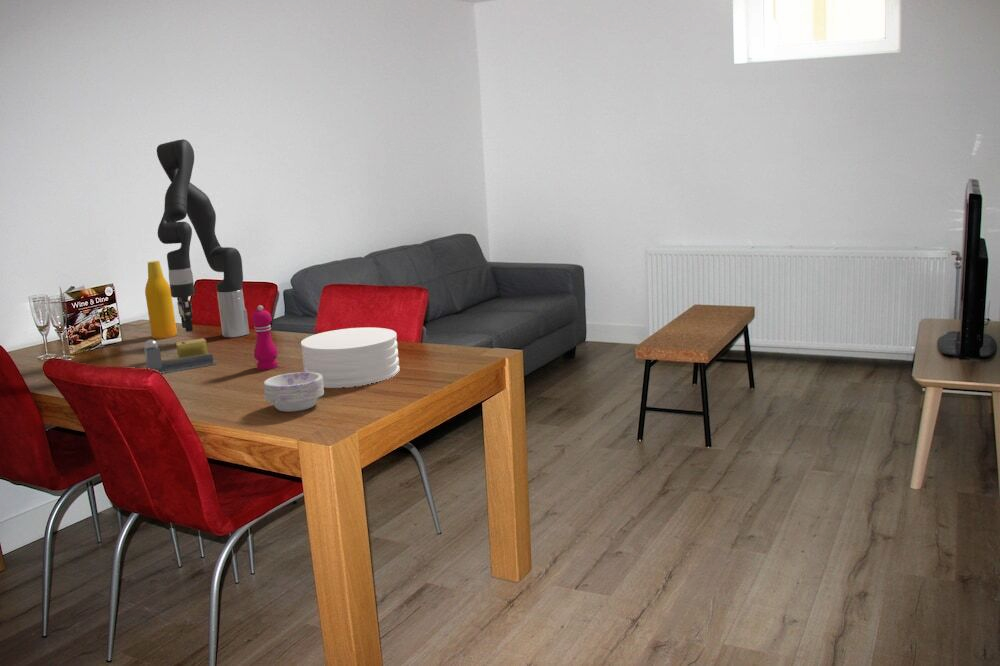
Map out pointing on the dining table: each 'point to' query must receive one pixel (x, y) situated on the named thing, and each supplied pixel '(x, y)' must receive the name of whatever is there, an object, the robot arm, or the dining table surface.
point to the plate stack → (351, 356)
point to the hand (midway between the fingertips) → (187, 329)
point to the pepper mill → (264, 340)
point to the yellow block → (191, 347)
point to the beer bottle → (159, 303)
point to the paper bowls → (294, 390)
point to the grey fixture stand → (174, 360)
